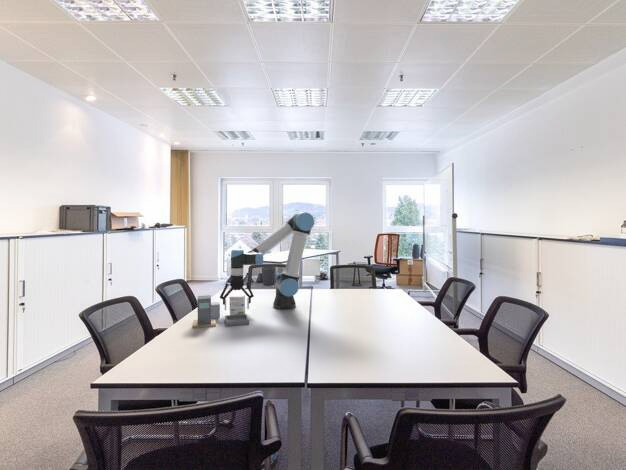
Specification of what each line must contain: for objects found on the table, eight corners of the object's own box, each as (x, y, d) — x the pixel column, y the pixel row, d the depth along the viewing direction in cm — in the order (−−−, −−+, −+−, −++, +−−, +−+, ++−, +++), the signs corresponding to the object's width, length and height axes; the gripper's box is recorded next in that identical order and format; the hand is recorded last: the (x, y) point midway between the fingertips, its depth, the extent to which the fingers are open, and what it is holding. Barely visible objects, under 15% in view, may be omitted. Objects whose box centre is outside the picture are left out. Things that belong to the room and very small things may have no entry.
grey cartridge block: (219, 315, 209) (219, 302, 208) (219, 317, 203) (219, 304, 203) (211, 315, 207) (211, 302, 207) (211, 318, 202) (211, 305, 201)
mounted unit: (215, 320, 197) (215, 294, 197) (215, 326, 186) (215, 298, 185) (193, 321, 194) (193, 295, 193) (192, 328, 182) (192, 300, 182)
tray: (246, 317, 202) (246, 313, 202) (248, 324, 189) (248, 320, 189) (225, 319, 199) (225, 315, 199) (226, 326, 186) (225, 322, 186)
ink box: (245, 314, 211) (245, 295, 211) (243, 316, 206) (243, 297, 206) (231, 313, 212) (231, 295, 211) (229, 315, 207) (229, 296, 206)
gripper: (256, 273, 215) (256, 306, 216) (215, 274, 208) (215, 308, 209) (258, 275, 208) (258, 309, 209) (216, 276, 201) (215, 311, 201)
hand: (236, 309), depth 209 cm, fingers open, 13 cm apart
